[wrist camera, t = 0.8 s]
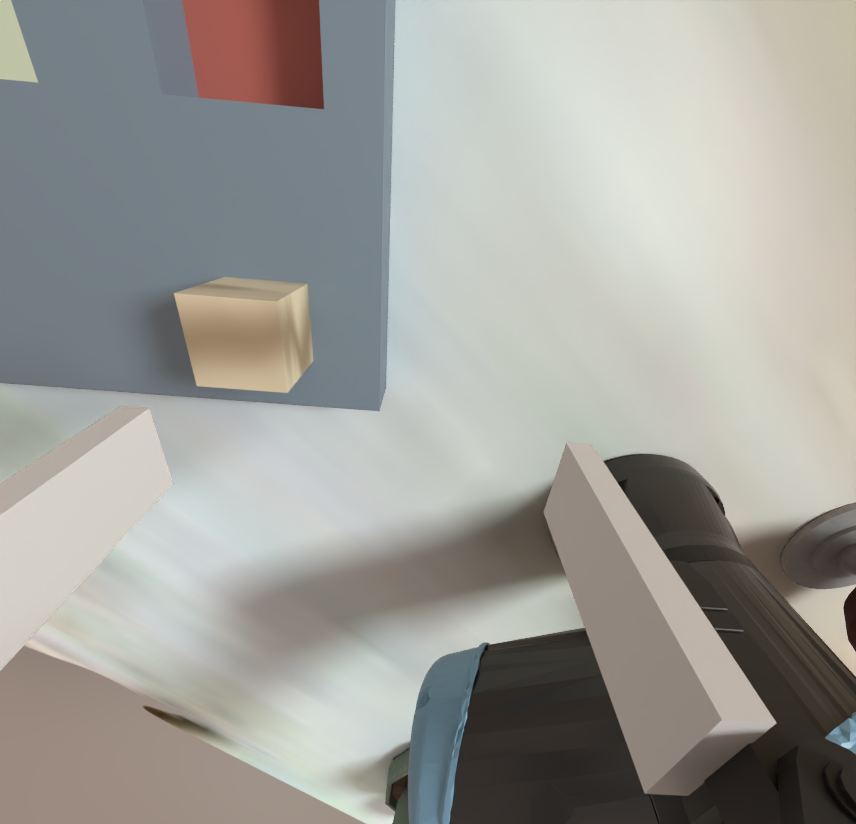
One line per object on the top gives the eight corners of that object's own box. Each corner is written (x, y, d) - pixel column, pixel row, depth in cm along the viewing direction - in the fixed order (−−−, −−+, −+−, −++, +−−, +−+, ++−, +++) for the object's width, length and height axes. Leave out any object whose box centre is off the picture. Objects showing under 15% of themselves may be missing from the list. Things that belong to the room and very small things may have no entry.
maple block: (313, 360, 25) (287, 392, 21) (238, 354, 25) (196, 385, 20) (307, 283, 23) (276, 301, 18) (224, 276, 22) (173, 293, 18)
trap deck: (385, 387, 30) (379, 411, 27) (-15, 357, 29) (-76, 377, 26) (411, -675, 12) (401, -1041, 8) (-640, -825, 11) (-1130, -1297, 8)
